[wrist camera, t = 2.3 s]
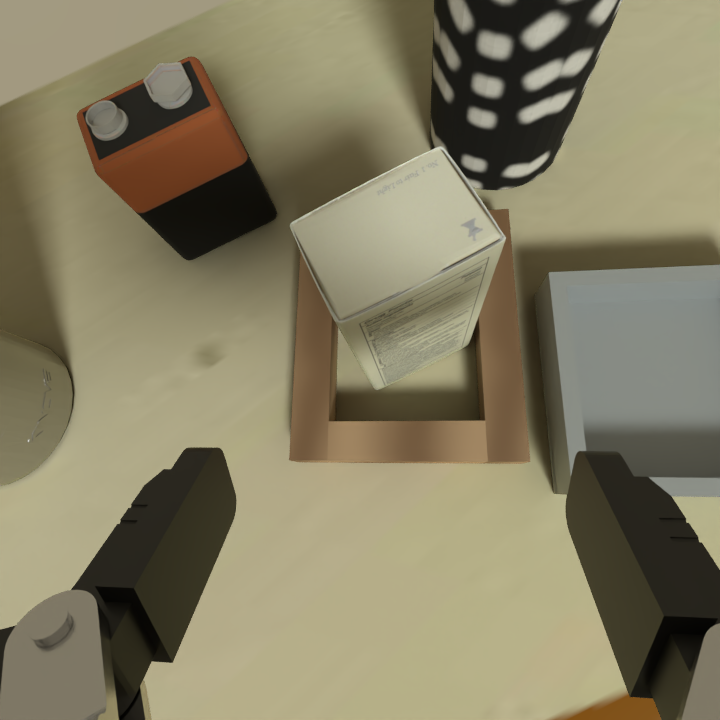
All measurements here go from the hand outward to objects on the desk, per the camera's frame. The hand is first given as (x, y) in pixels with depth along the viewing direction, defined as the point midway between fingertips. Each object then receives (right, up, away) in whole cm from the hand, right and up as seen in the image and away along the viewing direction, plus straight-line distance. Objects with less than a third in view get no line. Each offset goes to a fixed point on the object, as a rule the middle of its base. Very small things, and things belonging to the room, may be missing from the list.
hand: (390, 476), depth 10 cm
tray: (+15, +1, +14) cm, 20 cm away
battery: (-10, +12, +20) cm, 25 cm away
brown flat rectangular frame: (+2, +4, +16) cm, 17 cm away
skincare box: (+2, +4, +16) cm, 17 cm away
